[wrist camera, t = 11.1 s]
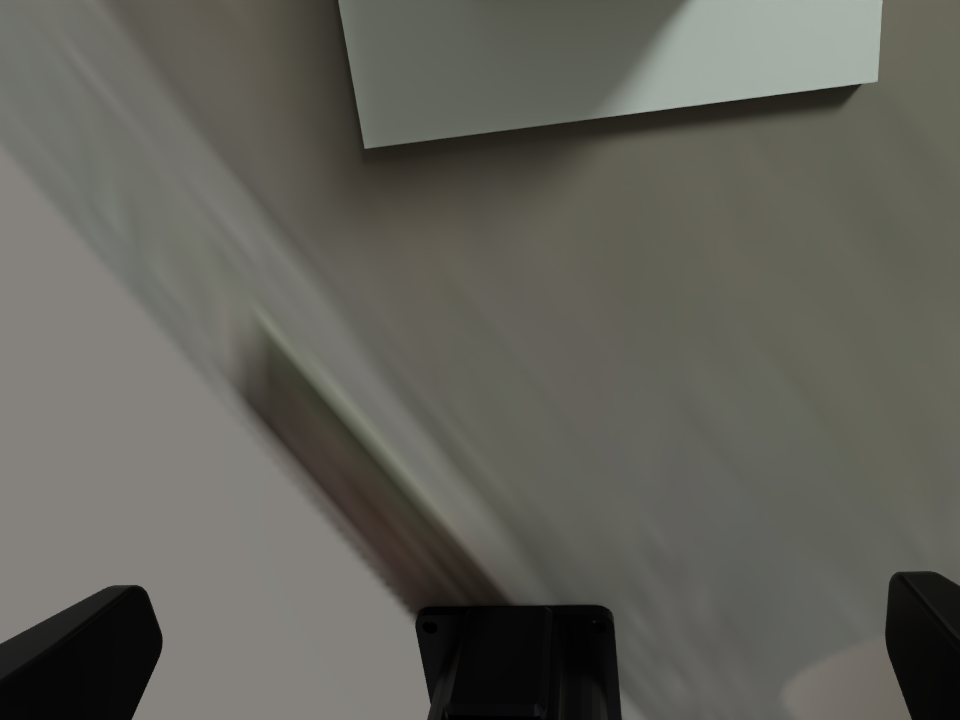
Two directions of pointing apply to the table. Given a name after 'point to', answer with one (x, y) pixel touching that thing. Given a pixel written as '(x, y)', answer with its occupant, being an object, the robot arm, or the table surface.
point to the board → (589, 58)
